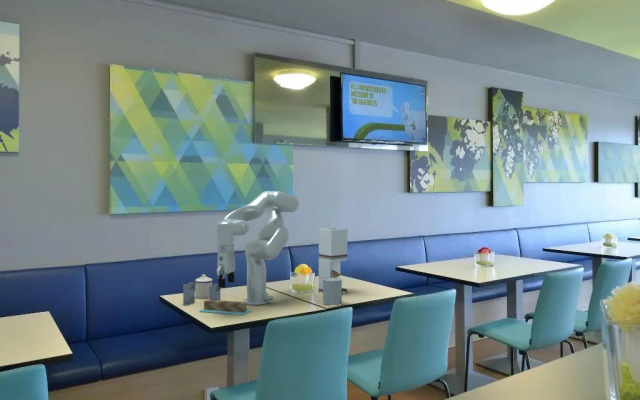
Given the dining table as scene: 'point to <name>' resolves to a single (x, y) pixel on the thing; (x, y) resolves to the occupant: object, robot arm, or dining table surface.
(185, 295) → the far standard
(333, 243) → the grey tall blocky piece
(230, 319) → the dining table surface
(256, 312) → the dining table surface
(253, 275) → the robot arm
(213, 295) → the near standard
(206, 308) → the rail
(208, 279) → the teacup with lid
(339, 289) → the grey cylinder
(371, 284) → the dining table surface
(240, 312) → the mat
